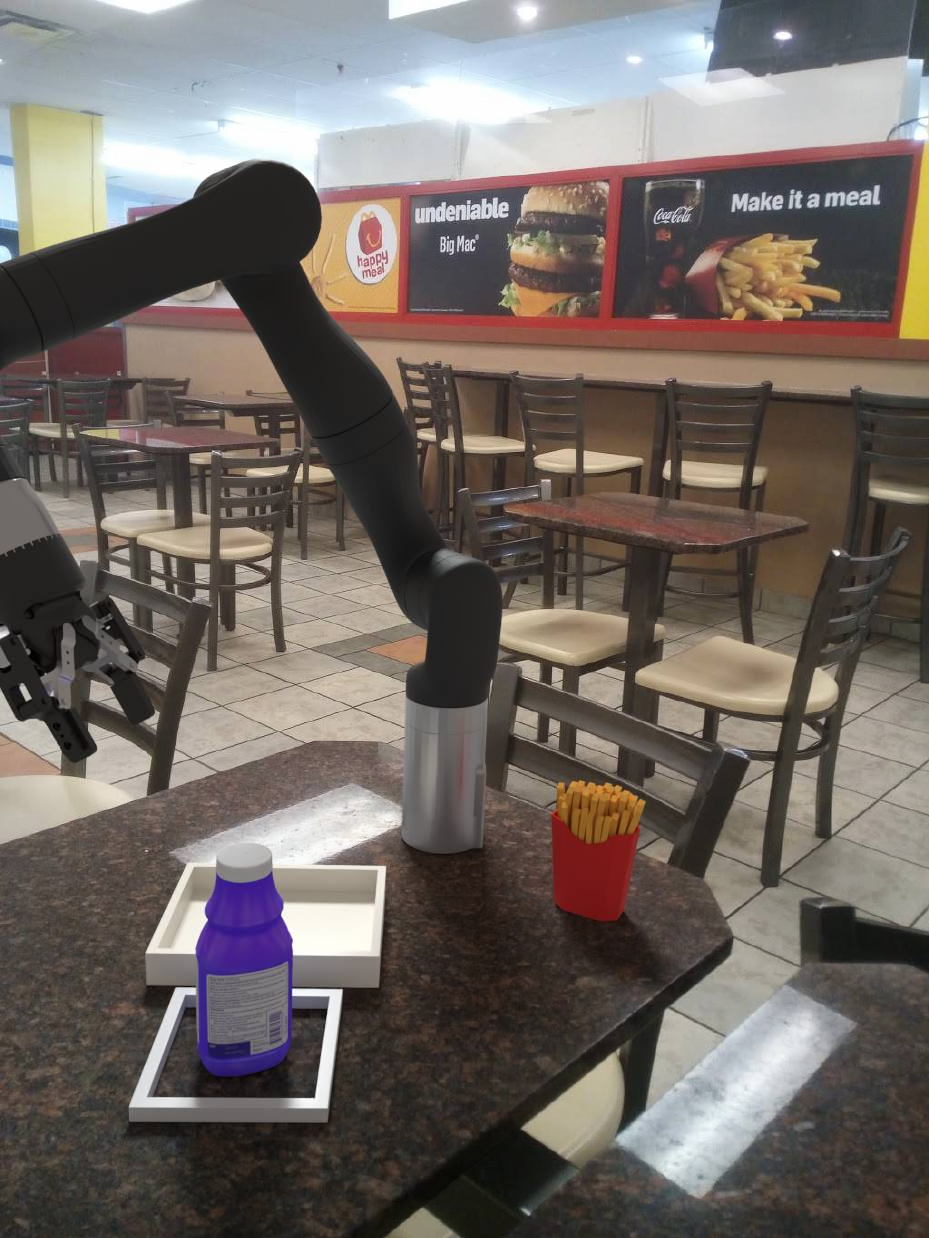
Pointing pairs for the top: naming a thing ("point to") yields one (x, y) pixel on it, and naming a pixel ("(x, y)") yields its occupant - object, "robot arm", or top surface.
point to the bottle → (244, 967)
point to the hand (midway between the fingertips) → (116, 737)
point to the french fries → (594, 848)
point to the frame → (237, 1108)
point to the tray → (313, 912)
